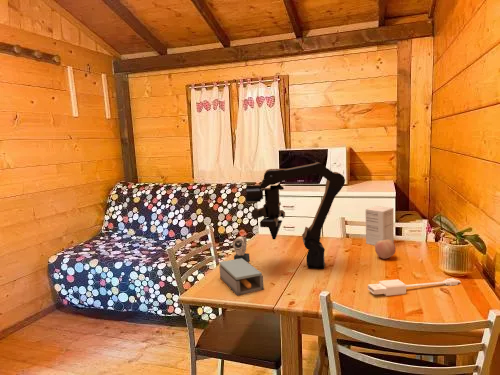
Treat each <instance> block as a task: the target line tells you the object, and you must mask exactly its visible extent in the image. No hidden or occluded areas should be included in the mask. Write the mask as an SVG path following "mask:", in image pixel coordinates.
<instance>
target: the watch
mask: <svg viewBox="0 0 500 375" xmlns="http://www.w3.org/2000/svg"><path fill="white" fill-rule="evenodd" d="M232 246H233V250H234V252H235V254H234V255H233V260H235V259H241V258H242V259H244V260H245V261H246V262H248V263H249V262H250V253H247V252H246V251H247V239H246V237H245V236H238V237H236V238H235V239H234V241H233V242H232Z"/></svg>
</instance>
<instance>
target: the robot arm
mask: <svg viewBox="0 0 500 375" xmlns="http://www.w3.org/2000/svg"><path fill="white" fill-rule="evenodd" d="M314 174H318V175H320V176H321V177H323V179H326V181H325V189H324V193H323V196H322V199H321V201H320V204H319V205H318V208H317V211H316V214H315V216H314V218H313V221H312V223H311V225H310V226H309V227H307V226H305V228H304V231H303V233H302V234H301V236H302V242H303V246H304V247H305V248H306V249H307V250H308V251H307V253H306V266H307V269H316V270H319V269H320V270H325V266H326V261H325V250H326V248H324V246H323V244H322V242H321V235H322V229H323V227H324V223H325V221H326V219H327V217H328V215H329V212H330V209H331V207H332V205H333V203H334V201H335V198H336V196H337V195H338V194H339V193H340V191H341V190H342V188H343V187H344V185H345V182H346V179H345V177H344V175H343V174H341V173H339V172H338V171H332V170H331V169H329V168H327V167H326V166H324V164H323V163H321V162H317V161H316V162H314V163H310V164H304V165H299V166H294V167H290V168H269V169H266V170H265V172H264V174H263V179H262V180H261V181H260V184H246V186H245V188H246V193H245V201H246V203H260V202H261V201H262V200H263V199H264V204H263V206H262V207H260V208H254V209H252V211H251V212H250V213H251V216H250V217H251V218H253V220H254V221H255V220H257V219H259V218H262V217H263V218H262V219H261V220H260V221H259V226H260V228H267V229H269V232H270V235H271V239H272V240H277V237H278V233H279V230H280V227H281V225H282V222H283V220H282V219H284V218H285V217H286V212H285V211H284V210H283V209H281V208H280V207H281V205H282V203H281V201H280V190H281V191H282V190H284V189H285V188H284V186H283V185H281V182H284V181H286V180H287V179H293V178H298V177H299V178H300V177H304V176H308V175H314ZM280 217H281V218H282V219H280V220H279V218H280Z"/></svg>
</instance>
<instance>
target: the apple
mask: <svg viewBox="0 0 500 375" xmlns="http://www.w3.org/2000/svg"><path fill="white" fill-rule="evenodd" d="M374 249H375V250H374V251H375V253H376V255H377V256H378V257H379V258H381V259H382V260H385V259H388V258H391V257H393V256H395V253H396V245H395V243H393V242H392V241H391V240H388V239H387V240H381V241H378V242H377V243H376V244H375V245H374Z"/></svg>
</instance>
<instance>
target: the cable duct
mask: <svg viewBox="0 0 500 375" xmlns="http://www.w3.org/2000/svg"><path fill="white" fill-rule="evenodd" d="M219 278H220V280H221V281H223V283H224V284H225V283H226V284H225V285H226V286H227V287H228V288H229V287H230V288H231V289H230V288H229V289H230V290H231V291H232V292H233V293H234V294H235V295H236V296H238V297H239V296H242V295H246V294H245V293H247V294H250V292H251V293H253V292H254V291H255V292H258V291H263V290H264V288H265V287H264V275H263V274H262V275H260V276H255V277H250V278H244V279H239V280H236V279H235V278H234V277H233V276H232V275H230V274H229V273H228V272H227V271H226V270H225V269H224V268H223V267H222V266H221V265H220V264H219ZM241 294H242V295H241Z"/></svg>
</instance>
